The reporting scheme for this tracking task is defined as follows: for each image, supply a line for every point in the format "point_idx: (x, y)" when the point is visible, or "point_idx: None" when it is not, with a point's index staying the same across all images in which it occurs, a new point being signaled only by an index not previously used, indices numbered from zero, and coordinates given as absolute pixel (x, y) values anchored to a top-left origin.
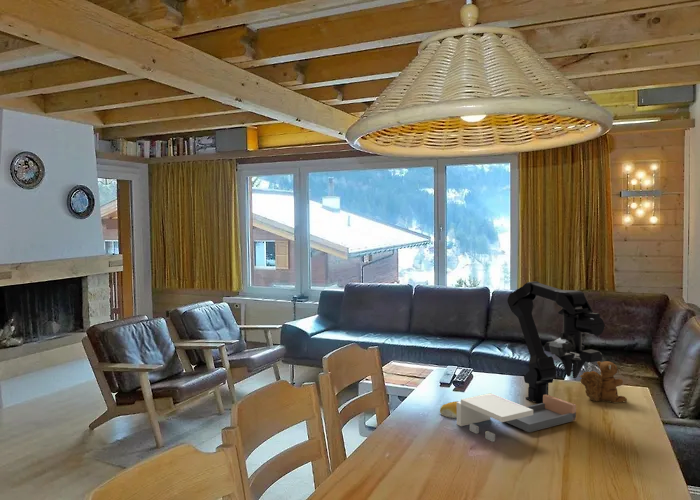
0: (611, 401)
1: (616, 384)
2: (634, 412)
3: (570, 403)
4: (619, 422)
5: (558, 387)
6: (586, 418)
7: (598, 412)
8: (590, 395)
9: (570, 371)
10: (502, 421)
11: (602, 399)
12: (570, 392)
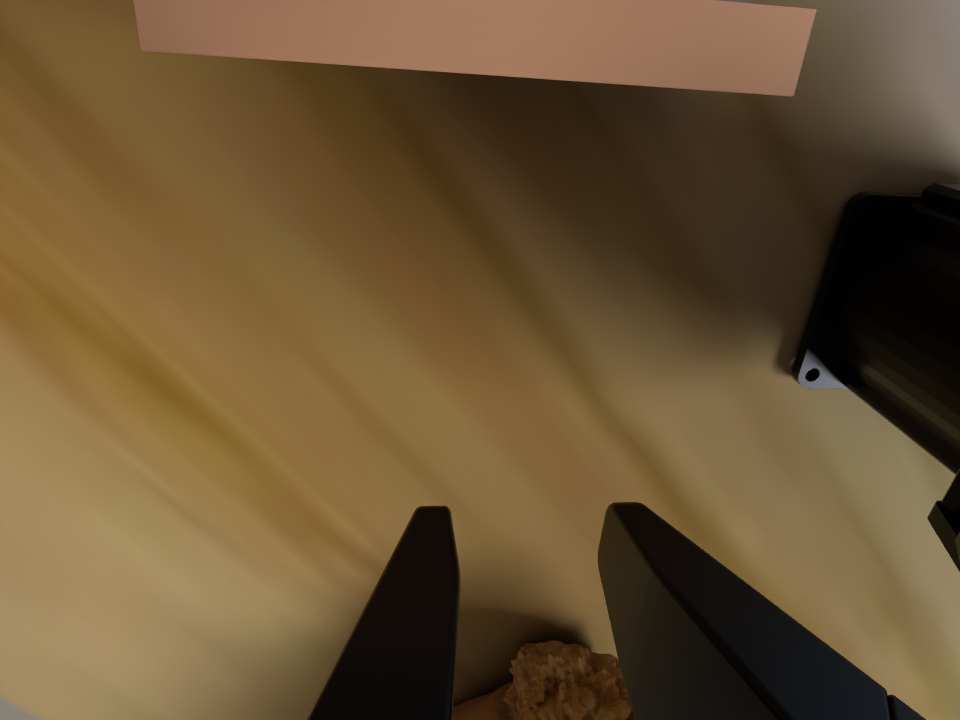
0: None
1: None
2: (189, 687)
3: (237, 20)
4: (21, 433)
5: (899, 651)
6: (256, 257)
7: (330, 482)
8: (561, 658)
9: (634, 664)
10: None
11: (495, 691)
12: None
